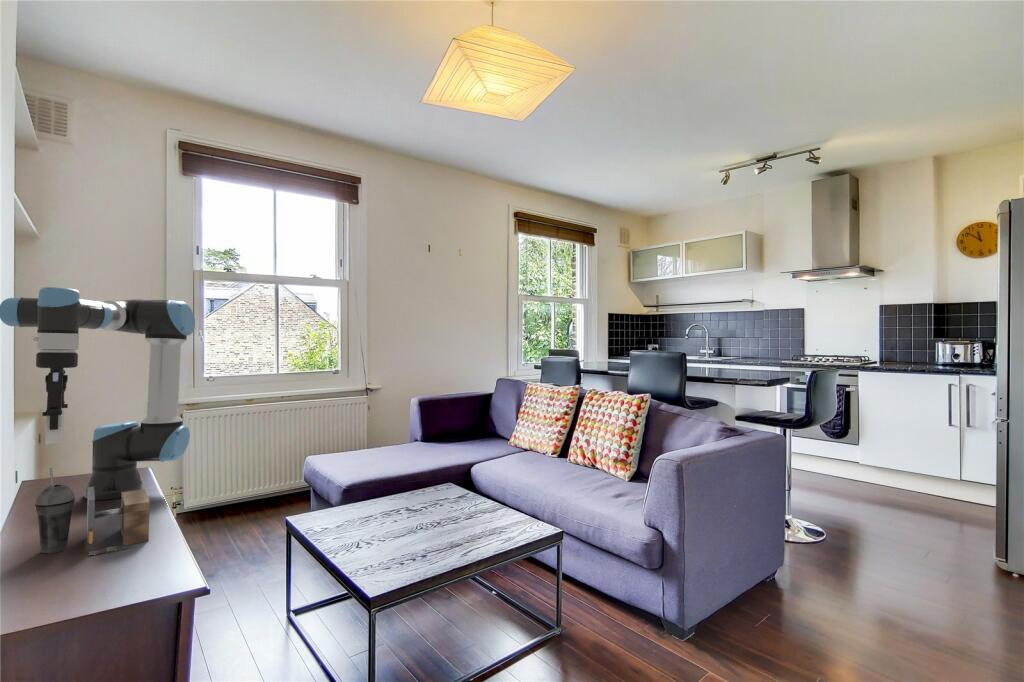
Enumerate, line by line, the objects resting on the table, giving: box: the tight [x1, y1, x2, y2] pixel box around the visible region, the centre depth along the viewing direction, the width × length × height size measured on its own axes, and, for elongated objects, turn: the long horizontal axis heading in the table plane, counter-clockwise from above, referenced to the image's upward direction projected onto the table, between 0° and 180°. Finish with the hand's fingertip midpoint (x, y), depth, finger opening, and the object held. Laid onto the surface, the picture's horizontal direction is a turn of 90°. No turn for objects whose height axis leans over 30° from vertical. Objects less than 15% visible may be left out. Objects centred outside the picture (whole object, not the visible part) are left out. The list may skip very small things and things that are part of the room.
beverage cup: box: [34, 467, 76, 554], centre depth 122 cm, size 7×7×20 cm
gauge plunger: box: [86, 486, 123, 545], centre depth 128 cm, size 10×16×10 cm, turn 41°
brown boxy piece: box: [88, 488, 151, 557], centre depth 128 cm, size 12×17×10 cm
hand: (54, 439), depth 122 cm, fingers open, 13 cm apart
